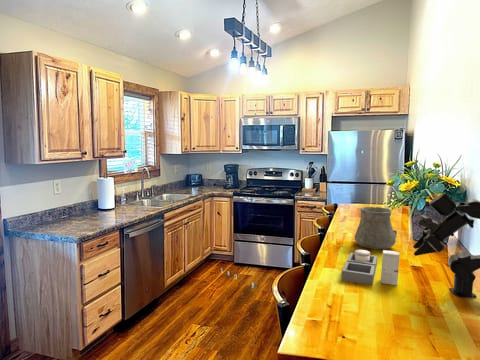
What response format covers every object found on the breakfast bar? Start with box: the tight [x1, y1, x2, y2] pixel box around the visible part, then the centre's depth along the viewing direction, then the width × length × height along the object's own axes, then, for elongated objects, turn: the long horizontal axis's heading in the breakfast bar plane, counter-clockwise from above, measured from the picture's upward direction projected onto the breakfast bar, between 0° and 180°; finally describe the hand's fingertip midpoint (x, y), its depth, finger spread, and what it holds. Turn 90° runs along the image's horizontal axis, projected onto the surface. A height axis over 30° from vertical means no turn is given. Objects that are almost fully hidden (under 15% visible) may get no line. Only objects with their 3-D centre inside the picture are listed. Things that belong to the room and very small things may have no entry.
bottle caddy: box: [341, 249, 378, 286], centre depth 150 cm, size 11×24×7 cm, turn 155°
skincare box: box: [380, 249, 401, 286], centre depth 139 cm, size 6×4×12 cm
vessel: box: [354, 206, 398, 250], centre depth 185 cm, size 22×22×20 cm
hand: (414, 251), depth 134 cm, fingers open, 9 cm apart
